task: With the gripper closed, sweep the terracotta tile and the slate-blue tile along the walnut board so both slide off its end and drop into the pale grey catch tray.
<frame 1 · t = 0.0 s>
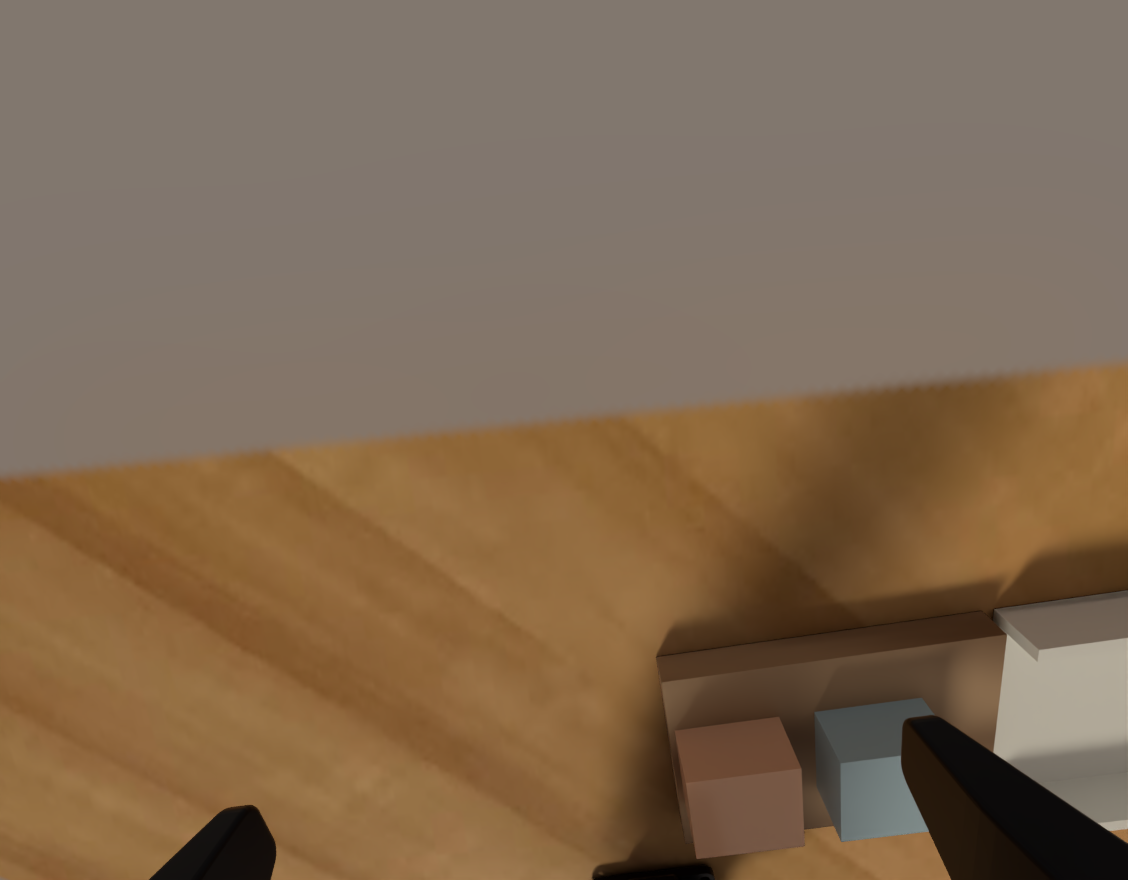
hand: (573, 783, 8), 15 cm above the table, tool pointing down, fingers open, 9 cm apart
terracotta tile: (730, 761, 26), point 1 cm above the table, touching board
catch tray: (1108, 690, 26), on the table
board: (818, 720, 27), on the table
slate tile: (867, 743, 25), point 1 cm above the table, touching board
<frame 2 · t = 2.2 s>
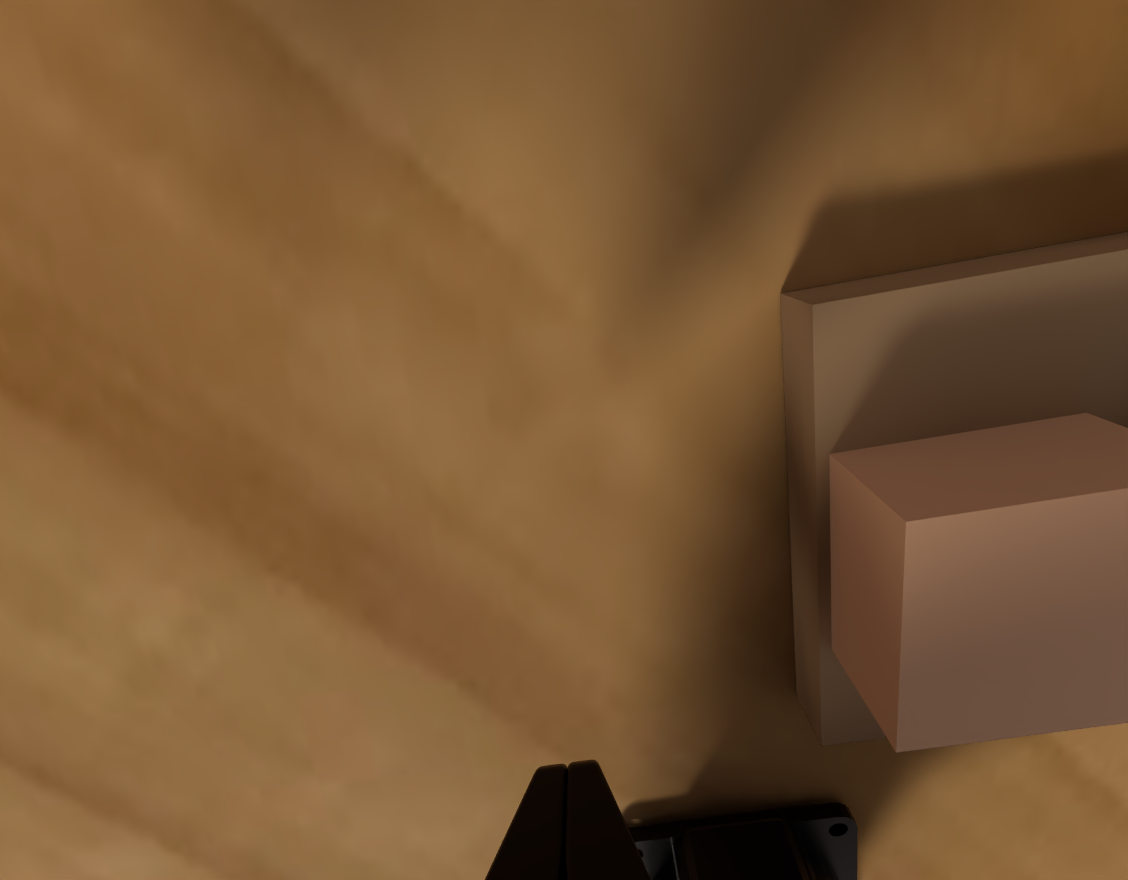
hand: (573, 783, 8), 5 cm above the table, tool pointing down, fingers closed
terracotta tile: (948, 540, 11), point 1 cm above the table, touching board
board: (1120, 471, 12), on the table
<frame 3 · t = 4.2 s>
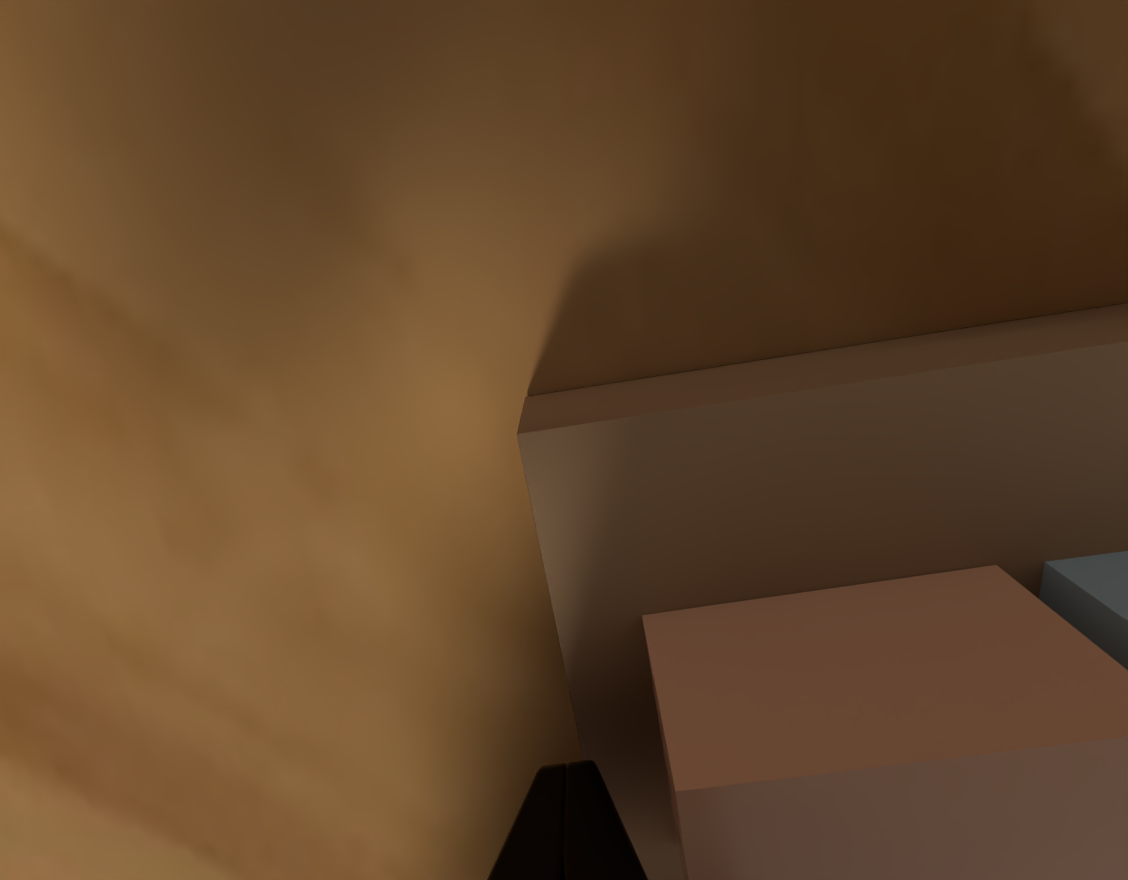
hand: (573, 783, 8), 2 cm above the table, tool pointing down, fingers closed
terracotta tile: (818, 721, 8), point 2 cm above the table, touching gripper
board: (1002, 621, 9), on the table
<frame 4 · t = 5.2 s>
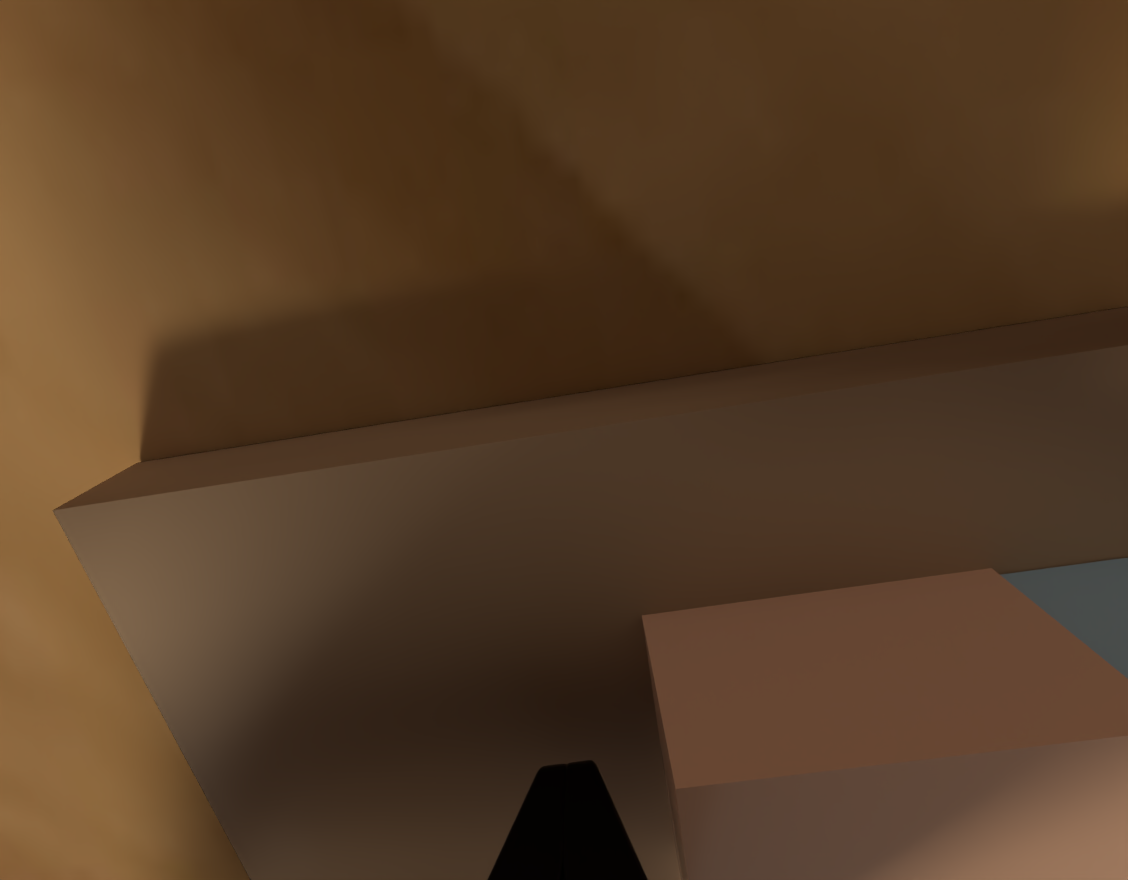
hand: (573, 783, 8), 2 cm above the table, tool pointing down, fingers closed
terracotta tile: (815, 721, 8), point 1 cm above the table, touching board, gripper, slate tile
board: (646, 668, 10), on the table
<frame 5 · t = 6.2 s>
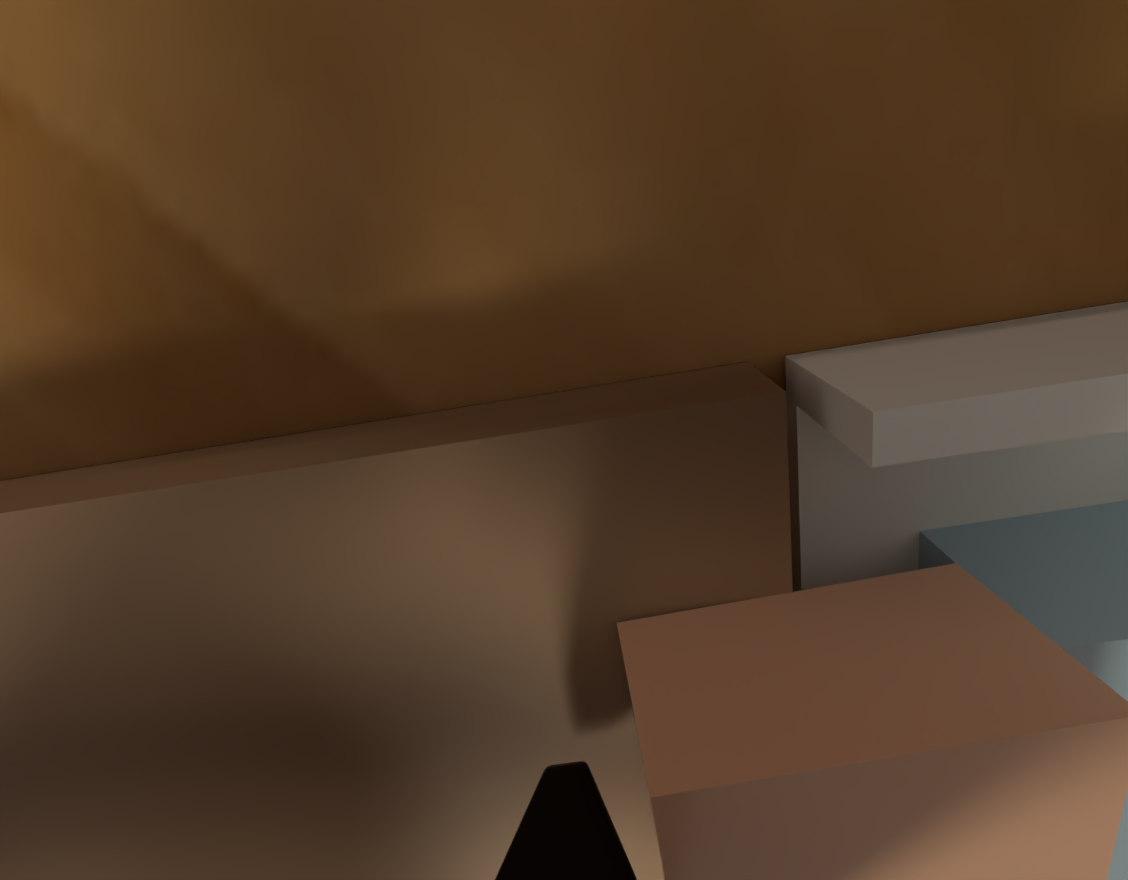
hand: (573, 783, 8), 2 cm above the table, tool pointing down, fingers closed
terracotta tile: (792, 721, 8), point 1 cm above the table, touching board, gripper, slate tile
board: (366, 698, 10), on the table
slate tile: (1061, 632, 9), resting on catch tray, touching terracotta tile
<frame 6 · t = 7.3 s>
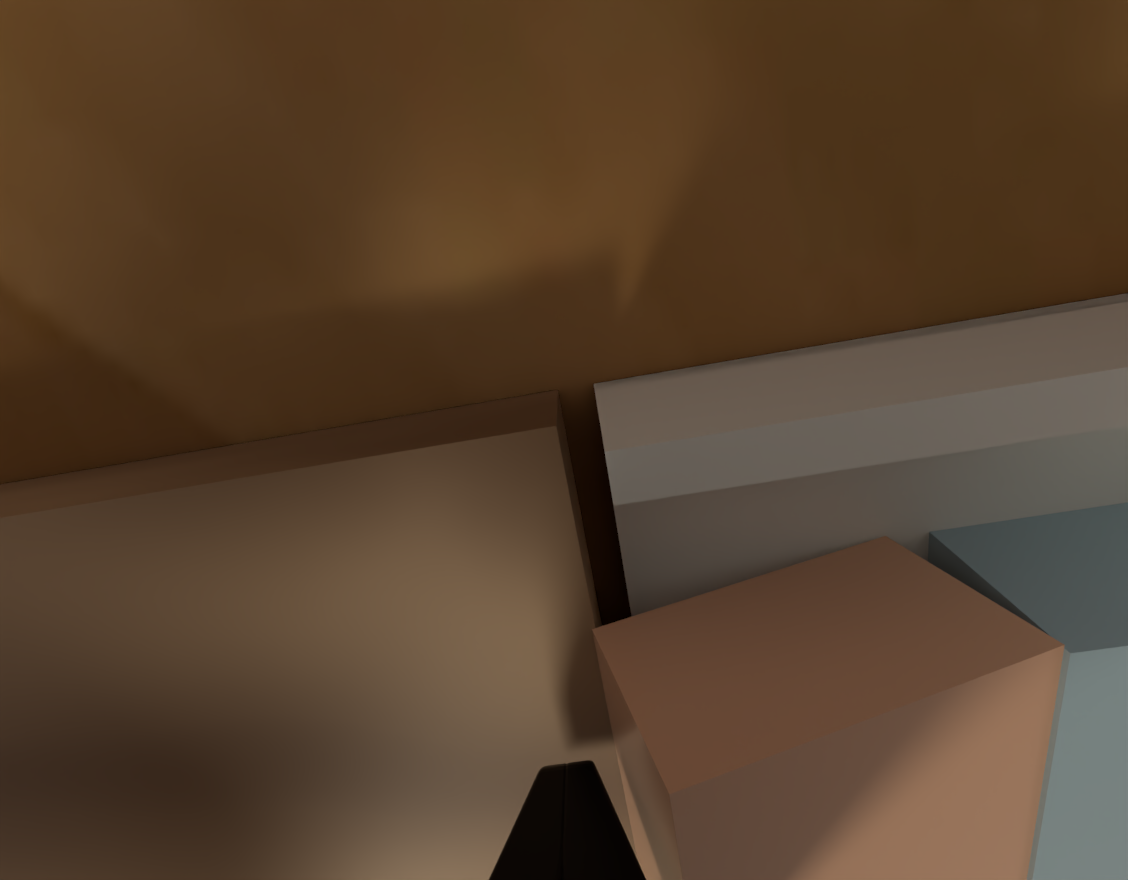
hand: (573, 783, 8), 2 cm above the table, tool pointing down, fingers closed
terracotta tile: (755, 703, 9), point 1 cm above the table, tilted 14°, touching catch tray, gripper, slate tile
catch tray: (973, 644, 10), on the table
board: (219, 723, 10), on the table
slate tile: (1070, 634, 9), resting on catch tray, touching terracotta tile
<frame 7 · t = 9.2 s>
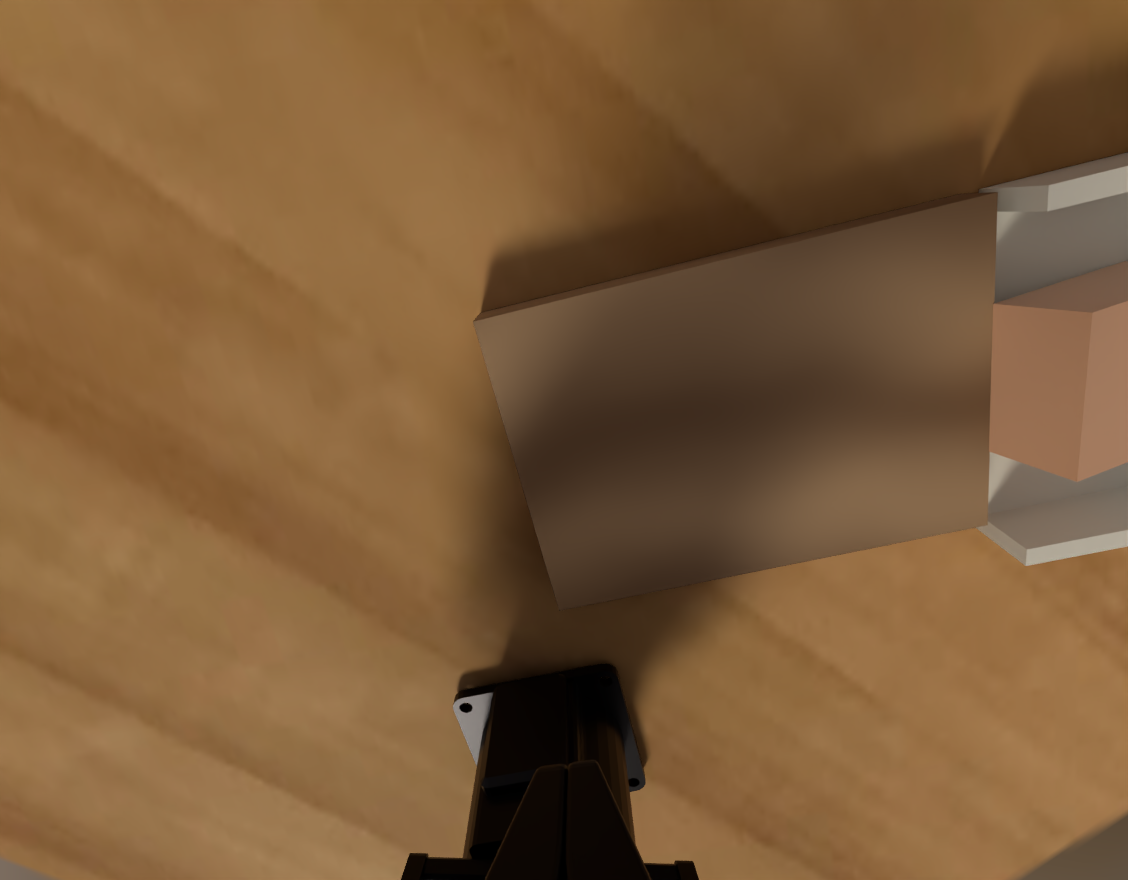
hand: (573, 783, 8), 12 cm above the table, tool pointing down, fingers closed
terracotta tile: (1054, 358, 17), point 1 cm above the table, tilted 14°, touching board, catch tray, slate tile
board: (734, 414, 19), on the table
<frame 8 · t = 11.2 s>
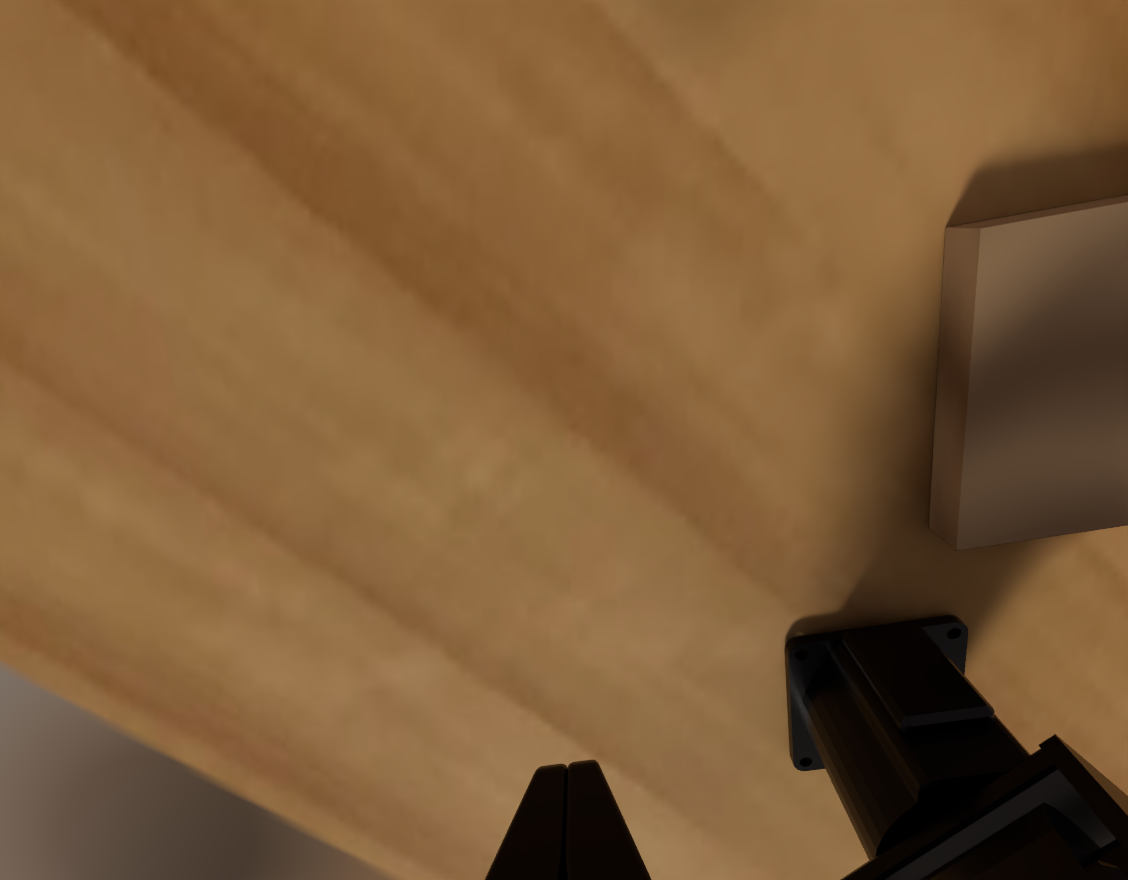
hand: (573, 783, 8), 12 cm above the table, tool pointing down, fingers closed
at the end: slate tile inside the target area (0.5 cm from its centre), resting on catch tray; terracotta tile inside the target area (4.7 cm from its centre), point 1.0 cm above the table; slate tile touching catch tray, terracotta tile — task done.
